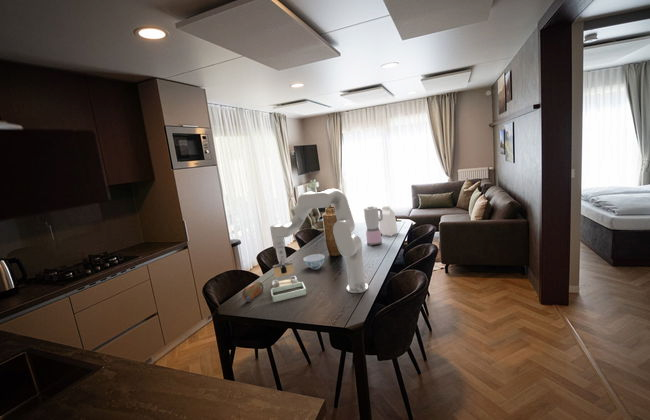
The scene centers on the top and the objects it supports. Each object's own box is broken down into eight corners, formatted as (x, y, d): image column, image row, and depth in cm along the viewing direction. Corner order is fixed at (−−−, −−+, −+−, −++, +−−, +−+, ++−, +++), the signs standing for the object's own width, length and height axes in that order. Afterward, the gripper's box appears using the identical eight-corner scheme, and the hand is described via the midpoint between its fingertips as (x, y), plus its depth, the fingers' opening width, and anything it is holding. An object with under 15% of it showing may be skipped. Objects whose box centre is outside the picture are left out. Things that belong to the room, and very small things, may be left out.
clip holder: (299, 285, 190) (298, 280, 189) (273, 291, 186) (272, 286, 185) (296, 278, 201) (295, 273, 201) (272, 284, 198) (271, 279, 197)
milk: (380, 235, 281) (377, 207, 276) (386, 231, 289) (383, 205, 285) (391, 235, 273) (389, 207, 269) (397, 232, 281) (395, 205, 277)
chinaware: (323, 271, 209) (322, 260, 207) (302, 272, 212) (301, 261, 211) (327, 263, 223) (326, 253, 222) (307, 264, 226) (306, 254, 225)
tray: (306, 294, 176) (306, 288, 175) (273, 302, 171) (272, 296, 171) (303, 286, 187) (302, 281, 186) (271, 294, 183) (270, 288, 182)
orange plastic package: (246, 304, 173) (244, 290, 172) (242, 303, 175) (240, 289, 174) (264, 292, 186) (262, 279, 184) (261, 292, 187) (258, 279, 186)
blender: (370, 247, 248) (365, 208, 243) (365, 243, 260) (360, 206, 255) (388, 243, 252) (384, 205, 246) (382, 240, 263) (378, 204, 258)
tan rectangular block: (294, 273, 192) (292, 262, 191) (275, 277, 190) (273, 266, 188) (293, 271, 195) (291, 261, 194) (274, 275, 192) (272, 265, 191)
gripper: (286, 246, 182) (291, 275, 185) (283, 240, 198) (288, 267, 201) (274, 248, 180) (279, 277, 183) (272, 242, 196) (276, 269, 199)
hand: (283, 271), depth 192 cm, fingers closed on tan rectangular block, 3 cm apart
